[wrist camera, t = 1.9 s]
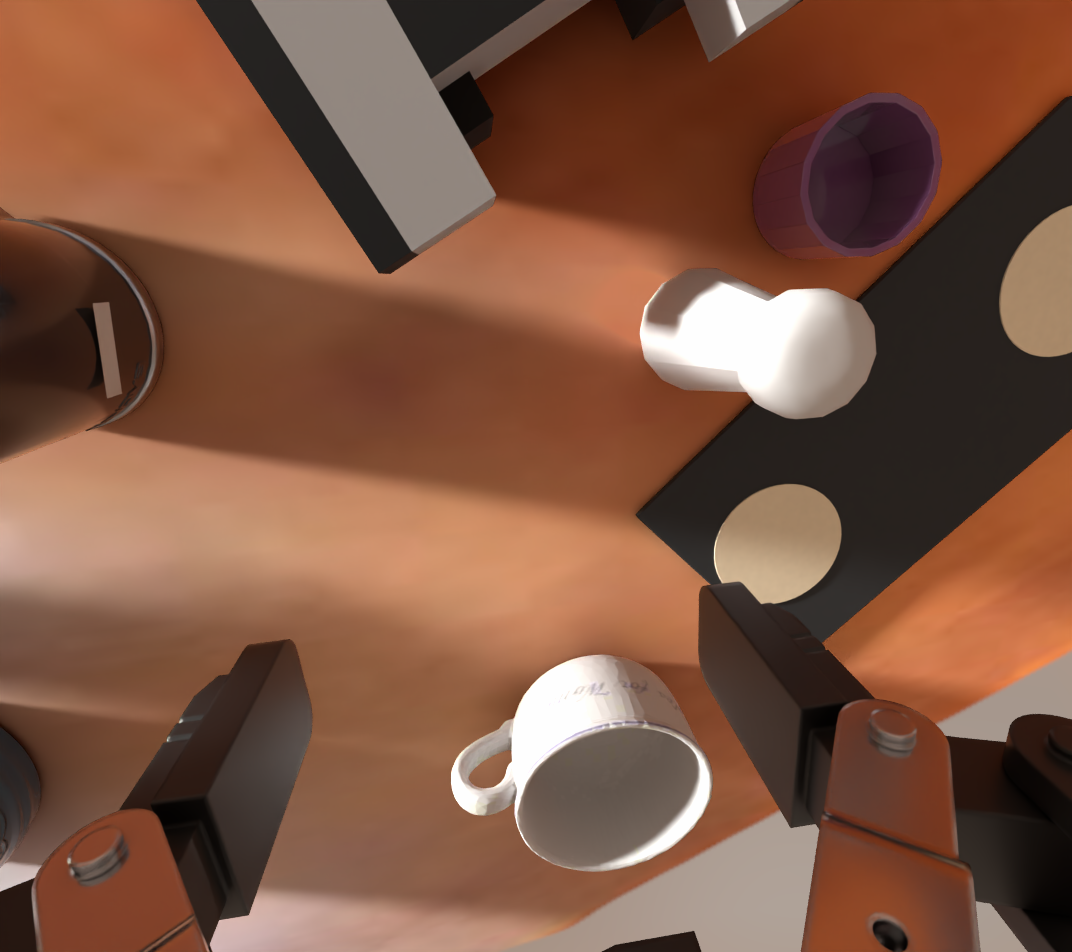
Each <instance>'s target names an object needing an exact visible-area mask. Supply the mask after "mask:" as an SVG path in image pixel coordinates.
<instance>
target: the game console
mask: <svg viewBox="0 0 1072 952" xmlns="http://www.w3.org/2000/svg"><path fill="white" fill-rule="evenodd" d="M196 1H197V2H198V4H199V5H200V7H201V8H202V10H203V11H204V13H205V14H206V16H207V17H208V19H209V20H210V22H211V23H212V25H213V26H214V28H215V29H216V31H217V32H218V34H219V35H220V37H221V38H222V40H223V41H224V43H225V44H226V46H227V47H228V49H229V50H230V52H231V53H232V55H233V56H234V58H235V59H236V61H237V62H238V64H239V65H240V67H241V68H242V70H243V71H244V73H245V74H246V76H247V77H248V79H249V80H250V82H251V83H252V85H253V86H254V88H255V89H256V91H257V92H258V94H259V95H260V97H261V98H262V100H263V101H264V103H265V104H266V106H267V107H268V109H269V110H270V112H271V113H272V115H273V116H274V118H275V119H276V120H277V122H278V123H279V125H280V126H281V128H282V129H283V131H284V132H285V134H286V135H287V137H288V138H289V140H290V141H291V143H292V144H293V146H294V147H295V149H296V150H297V152H298V153H299V155H300V156H301V158H302V159H303V161H304V162H305V164H306V165H307V167H308V168H309V170H310V171H311V173H312V174H313V176H314V177H315V179H316V180H317V182H318V183H319V185H320V186H321V188H322V189H323V191H324V192H325V194H326V195H327V197H328V198H329V200H330V201H331V203H332V204H333V206H334V207H335V209H336V210H337V212H338V213H339V215H340V216H341V218H342V219H343V221H344V222H345V224H346V225H347V227H348V228H349V230H350V231H351V233H352V234H353V236H354V237H355V239H356V240H357V242H358V243H359V245H360V246H361V248H362V249H363V251H364V252H365V253H366V255H367V256H368V258H369V259H370V261H371V262H372V264H373V265H374V267H375V268H376V270H377V271H378V273H383V274H391V273H392V272H394V271H395V270H397V269H398V268H400V267H401V266H403V265H404V264H406V263H407V262H409V261H410V260H412V259H413V258H415V257H416V256H418V255H419V254H421V253H422V252H424V251H425V250H427V249H428V248H430V247H431V246H433V245H434V244H436V243H437V242H439V241H440V240H442V239H443V238H445V237H446V236H448V235H449V234H451V233H452V232H454V231H456V230H457V229H459V228H460V227H462V226H463V225H465V224H466V223H468V222H469V221H471V220H472V219H474V218H475V217H477V216H478V215H480V214H481V213H483V212H484V211H486V210H487V209H489V208H490V207H492V206H493V204H494V201H495V198H496V194H495V192H494V190H493V188H492V187H491V185H490V183H489V181H488V179H487V178H486V176H485V174H484V172H483V171H482V169H481V167H480V165H479V164H478V162H477V160H476V158H475V157H474V155H473V153H472V151H471V149H472V148H474V147H475V146H477V145H478V144H480V143H481V142H483V141H484V140H486V139H487V138H489V137H490V136H491V130H492V123H493V117H494V115H493V113H492V112H491V110H490V108H489V106H488V104H487V102H486V101H485V99H484V97H483V95H482V93H481V91H480V89H479V88H478V86H477V84H476V82H475V79H477V78H478V77H480V76H481V75H483V74H484V73H486V72H487V71H489V70H490V69H491V68H493V67H494V66H496V65H497V64H499V63H500V62H502V61H503V60H505V59H506V58H507V57H509V56H510V55H512V54H513V53H515V52H516V51H518V50H519V49H521V48H522V47H524V46H525V45H526V44H528V43H529V42H531V41H532V40H534V39H535V38H537V37H538V36H540V35H541V34H542V33H544V32H545V31H547V30H548V29H550V28H551V27H553V26H554V25H556V24H557V23H559V22H560V21H561V20H563V19H564V18H566V17H567V16H569V15H570V14H572V13H573V12H575V11H576V10H578V9H579V8H580V7H582V6H583V5H585V4H586V3H588V2H589V1H591V0H196ZM615 1H616V4H617V6H618V8H619V10H620V13H621V15H622V17H623V20H624V22H625V24H626V26H627V29H628V31H629V33H630V35H631V38H632V40H634V39H635V38H637V37H638V36H640V35H641V34H643V33H644V32H646V31H647V30H649V29H650V28H652V27H653V26H655V25H656V24H658V23H659V22H661V21H662V20H664V19H665V18H667V17H668V16H670V15H671V14H672V13H674V12H675V11H677V10H678V9H680V8H681V7H683V6H684V5H686V7H687V9H688V12H689V14H690V17H691V19H692V22H693V24H694V27H695V29H696V32H697V34H698V37H699V39H700V42H701V44H702V46H703V49H704V51H705V54H706V56H707V59H708V61H709V62H711V61H712V60H714V59H715V58H717V57H718V56H720V55H721V54H723V53H724V52H726V51H727V50H729V49H730V48H732V47H733V46H735V45H736V44H738V43H739V42H741V41H742V40H744V39H745V38H747V37H748V36H750V35H751V34H753V33H754V32H756V31H757V30H759V29H760V28H762V27H763V26H765V25H766V24H768V23H769V22H771V21H772V20H774V19H775V18H777V17H779V16H780V15H782V14H783V13H785V12H786V11H788V10H789V9H791V8H792V7H794V6H795V5H797V4H798V3H800V2H801V1H803V0H615Z"/></svg>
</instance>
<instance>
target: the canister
mask: <svg viewBox="0 0 1072 952" xmlns="http://www.w3.org/2000/svg"><path fill="white" fill-rule="evenodd" d="M40 797H41V788H40V781H39V777H38V774H37V771H36V769H35V766H34V764H33V762H32V761H31V759H30V757H29V756H28V754H27V753H26V751H25V750H24V749H23V748H22V746H21V745H20V744H19V743H18V742H17V741H16V740H15V739H14V738H13V737H12V736H11V735H9V734H8V733H7V732H6V731H5V730H3V729H2V728H1V727H0V868H1V867H2V866H3V865H4V864H5V863H6V861H7V860H8V859H9V858H10V856H11V855H12V853H13V852H14V851H15V850H16V848H17V847H18V846H19V845H20V843H21V842H22V840H23V839H24V837H25V835H26V833H27V830H28V828H29V825H30V824H31V822H32V820H33V819H34V817H35V815H36V813H37V810H38V808H39V803H40Z"/></svg>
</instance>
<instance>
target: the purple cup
mask: <svg viewBox="0 0 1072 952" xmlns="http://www.w3.org/2000/svg"><path fill="white" fill-rule="evenodd" d="M941 165H942V157H941V150H940V144H939V137H938V132H937V129H936V128H935V126H934V125H933V123H932V121H931V120H930V118H929V117H928V115H927V113H926V112H925V110H924V109H923V107H922V106H920V105H918V104H917V103H915V102H913V101H911V100H910V99H908V98H906V97H904V96H903V95H901V94H898V93H868V94H866V95H864V96H862V97H860V98H857V99H855V100H853V101H851V102H849V103H847V104H844V105H842V106H840V107H838V108H836V109H834V110H831V111H829V112H827V113H825V114H823V115H820V116H818V117H816V118H814V119H812V120H810V121H808V122H805V123H803V124H801V125H799V126H797V127H795V128H793V129H791V130H790V131H789V132H787V133H786V134H784V135H783V136H782V137H781V138H780V139H779V140H778V141H777V142H776V143H775V144H774V145H773V146H772V148H771V149H770V150H769V152H768V153H767V155H766V156H765V158H764V160H763V162H762V164H761V166H760V168H759V171H758V174H757V177H756V181H755V185H754V191H753V209H754V215H755V220H756V223H757V226H758V228H759V230H760V232H761V234H762V236H763V237H764V239H765V240H766V241H767V242H768V243H769V245H770V246H771V247H773V248H774V249H775V250H776V251H778V252H779V253H781V254H783V255H785V256H788V257H791V258H795V259H830V258H849V257H868V256H874V255H876V254H878V253H880V252H883V251H885V250H887V249H889V248H891V247H894V246H896V245H898V244H899V243H900V242H901V241H902V240H903V239H904V238H905V237H906V236H907V235H908V234H909V233H910V232H911V231H912V230H914V229H915V228H916V227H917V226H918V225H919V224H920V222H921V221H922V219H923V217H924V215H925V214H926V212H927V210H928V208H929V206H930V204H931V202H932V201H933V199H934V197H935V195H936V192H937V187H938V181H939V176H940V171H941Z"/></svg>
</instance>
